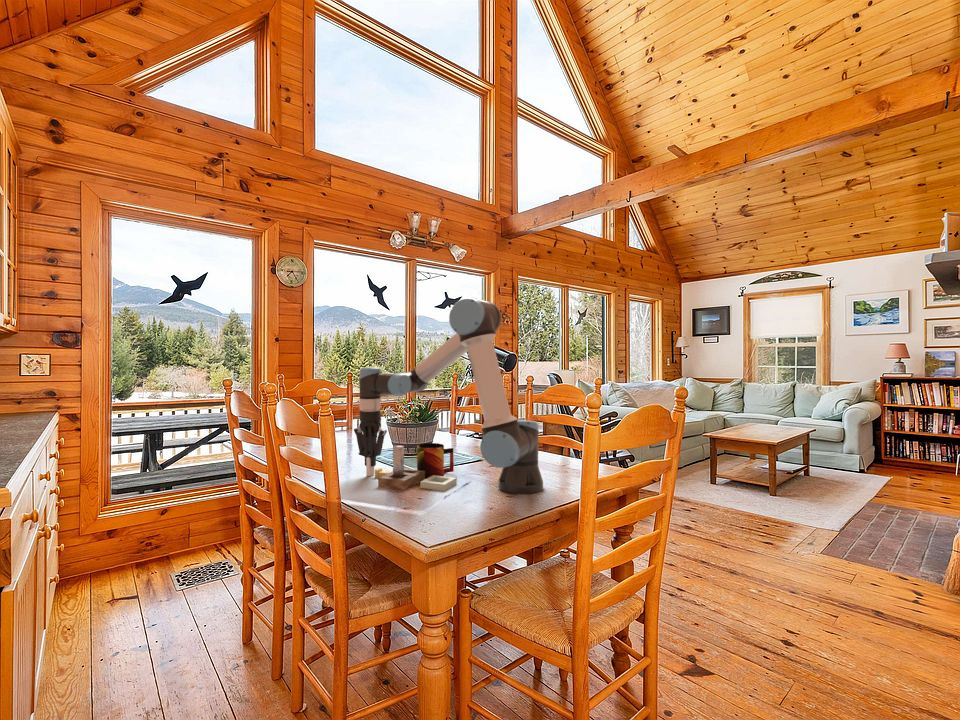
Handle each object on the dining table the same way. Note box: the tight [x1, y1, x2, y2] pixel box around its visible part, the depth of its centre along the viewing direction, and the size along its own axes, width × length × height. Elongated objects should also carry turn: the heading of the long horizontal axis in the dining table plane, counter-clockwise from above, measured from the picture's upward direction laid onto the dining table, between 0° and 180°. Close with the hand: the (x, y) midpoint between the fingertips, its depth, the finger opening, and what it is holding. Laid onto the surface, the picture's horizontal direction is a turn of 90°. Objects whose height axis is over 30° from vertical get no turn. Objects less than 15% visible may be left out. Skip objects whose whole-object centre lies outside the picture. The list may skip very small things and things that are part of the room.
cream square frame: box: [419, 475, 458, 492], centre depth 163 cm, size 9×9×3 cm
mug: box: [416, 442, 455, 479], centre depth 178 cm, size 10×14×12 cm
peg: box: [392, 444, 405, 478], centre depth 164 cm, size 4×4×13 cm
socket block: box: [377, 468, 425, 491], centre depth 166 cm, size 10×14×4 cm
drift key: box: [374, 467, 391, 479], centre depth 173 cm, size 10×3×4 cm, turn 67°
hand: (370, 474), depth 176 cm, fingers closed
